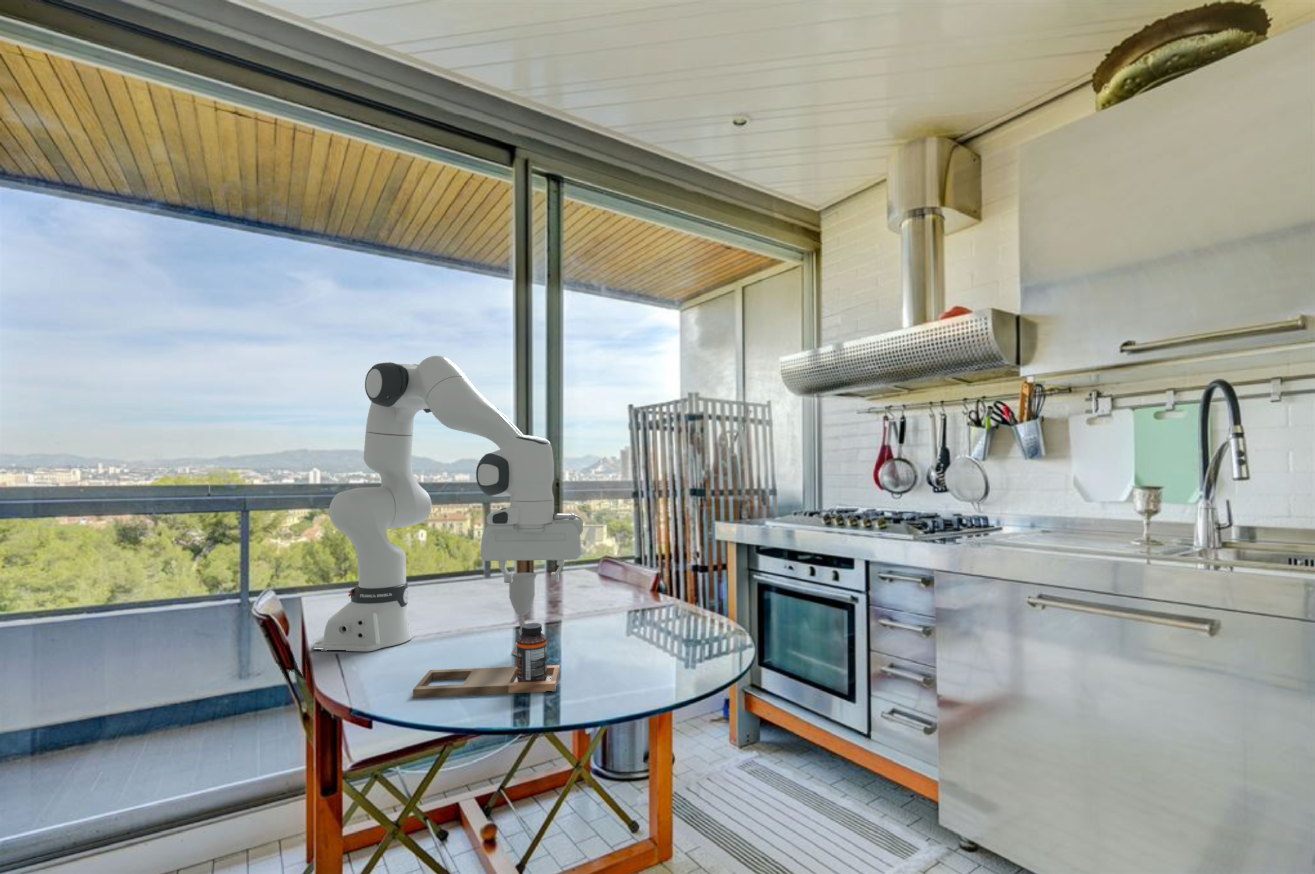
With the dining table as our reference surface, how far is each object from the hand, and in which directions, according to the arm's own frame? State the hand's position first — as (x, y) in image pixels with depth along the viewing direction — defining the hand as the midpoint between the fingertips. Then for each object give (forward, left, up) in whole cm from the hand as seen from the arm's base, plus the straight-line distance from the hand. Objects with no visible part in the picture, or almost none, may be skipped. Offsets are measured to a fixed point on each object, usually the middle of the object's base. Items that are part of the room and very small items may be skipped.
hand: (531, 582), depth 126 cm
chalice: (-5, +20, -20) cm, 29 cm away
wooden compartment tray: (-8, 0, -20) cm, 22 cm away
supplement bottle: (0, 0, -20) cm, 20 cm away
